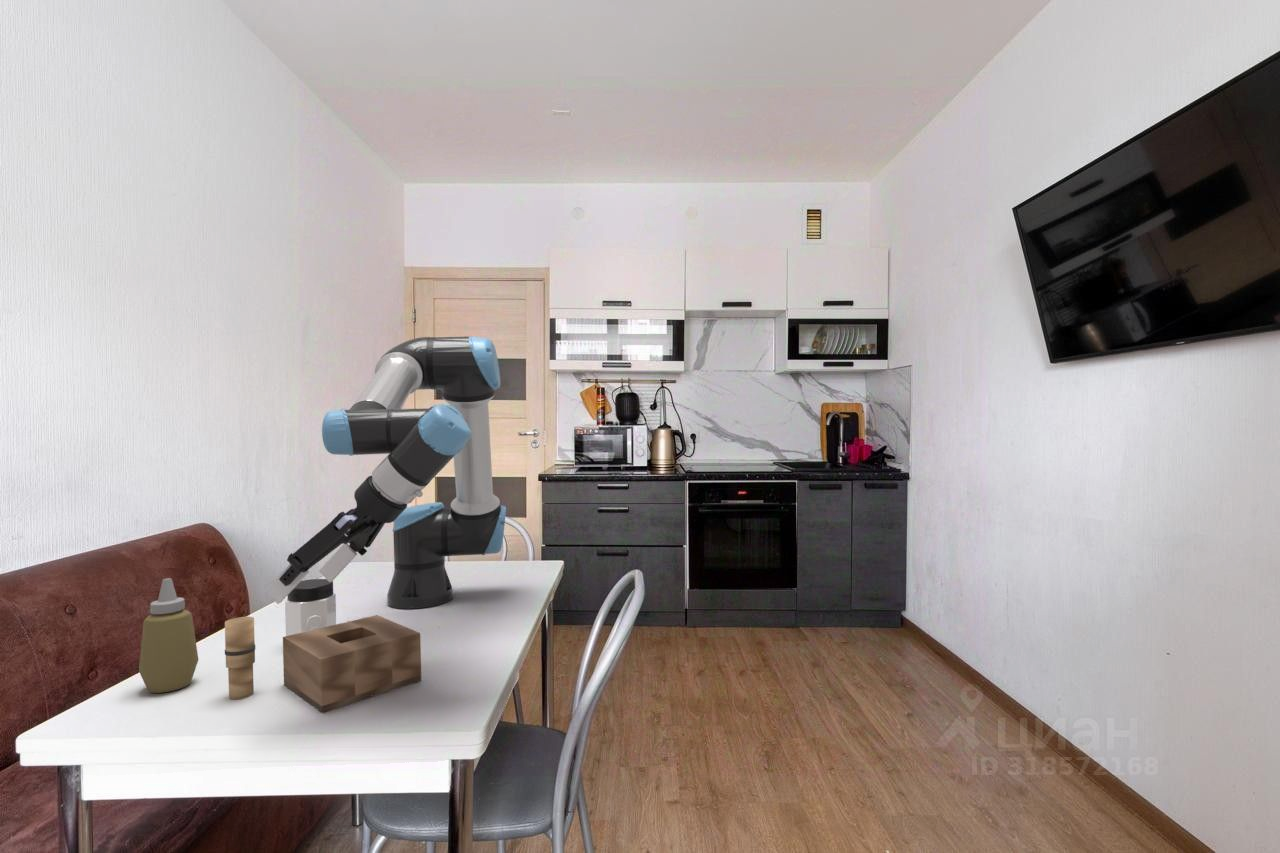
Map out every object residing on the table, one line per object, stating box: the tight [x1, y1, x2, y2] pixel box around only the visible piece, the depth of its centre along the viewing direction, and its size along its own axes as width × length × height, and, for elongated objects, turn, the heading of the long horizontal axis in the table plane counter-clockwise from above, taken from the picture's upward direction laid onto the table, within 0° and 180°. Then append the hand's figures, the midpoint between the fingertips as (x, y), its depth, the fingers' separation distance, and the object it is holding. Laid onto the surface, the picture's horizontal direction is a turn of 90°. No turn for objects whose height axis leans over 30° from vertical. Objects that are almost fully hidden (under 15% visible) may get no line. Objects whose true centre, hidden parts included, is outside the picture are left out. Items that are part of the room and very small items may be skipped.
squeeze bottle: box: [138, 577, 199, 694], centre depth 110 cm, size 8×8×18 cm
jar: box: [284, 578, 337, 636], centre depth 130 cm, size 9×8×12 cm
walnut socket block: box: [282, 614, 422, 713], centre depth 110 cm, size 16×16×8 cm
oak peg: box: [224, 616, 256, 700], centre depth 106 cm, size 4×4×12 cm
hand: (300, 586), depth 104 cm, fingers open, 13 cm apart
